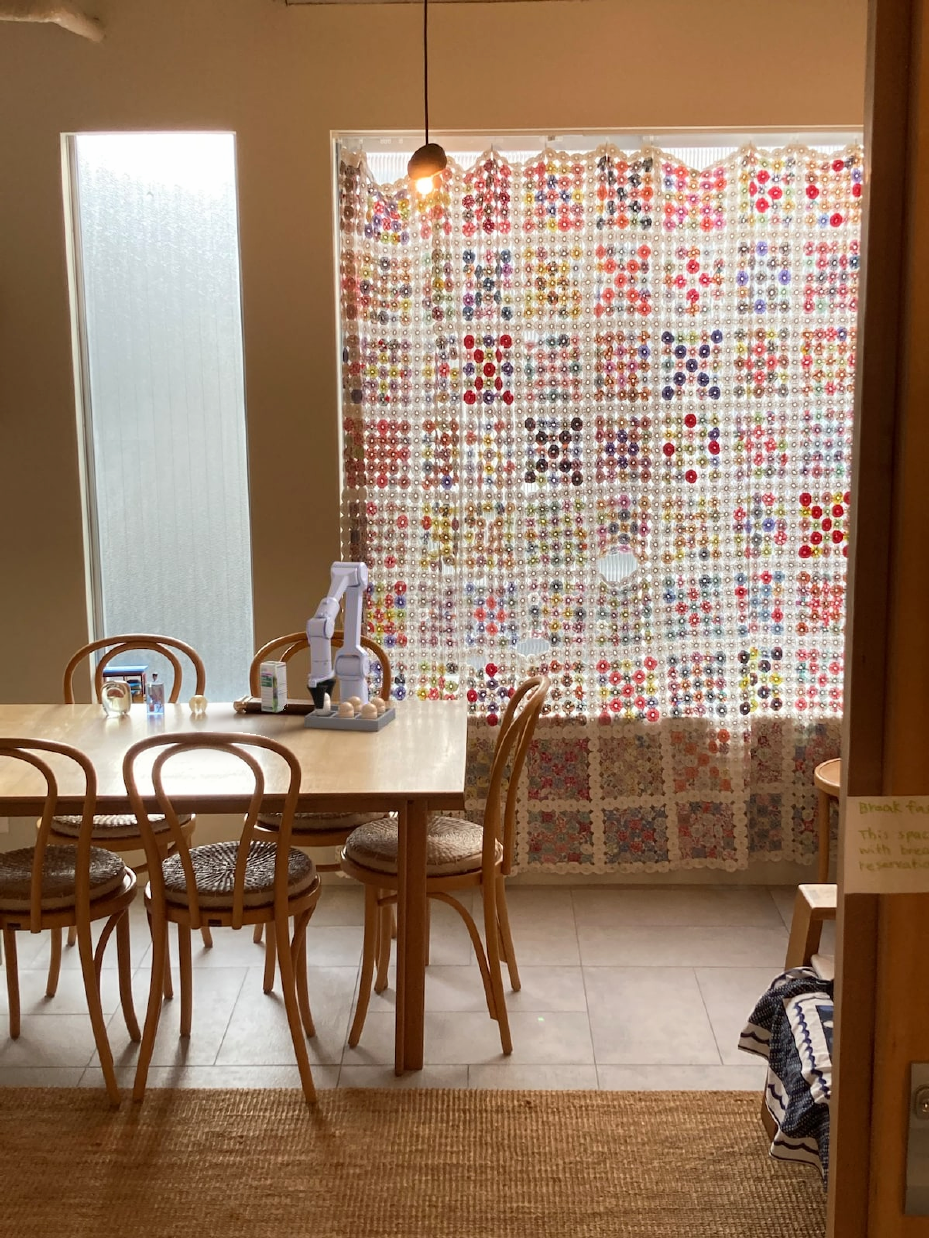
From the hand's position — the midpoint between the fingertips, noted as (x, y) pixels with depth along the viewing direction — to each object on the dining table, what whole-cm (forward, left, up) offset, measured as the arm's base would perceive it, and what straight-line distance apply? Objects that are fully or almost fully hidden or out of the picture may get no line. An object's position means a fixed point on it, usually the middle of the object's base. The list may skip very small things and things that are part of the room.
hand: (322, 706), depth 329 cm
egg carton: (-4, +7, -5) cm, 9 cm away
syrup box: (-13, -21, -5) cm, 25 cm away
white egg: (0, 0, -2) cm, 2 cm away
